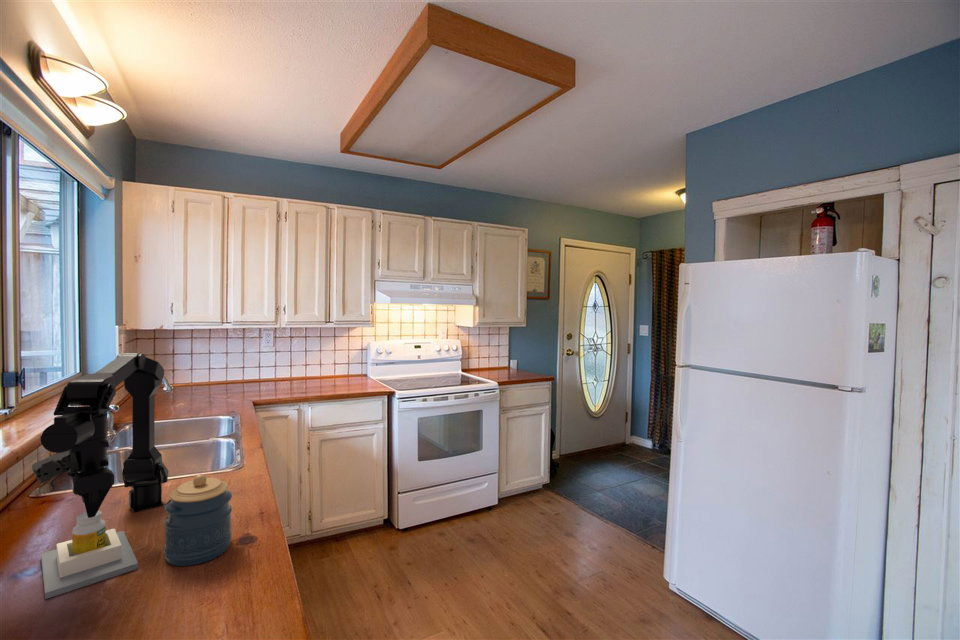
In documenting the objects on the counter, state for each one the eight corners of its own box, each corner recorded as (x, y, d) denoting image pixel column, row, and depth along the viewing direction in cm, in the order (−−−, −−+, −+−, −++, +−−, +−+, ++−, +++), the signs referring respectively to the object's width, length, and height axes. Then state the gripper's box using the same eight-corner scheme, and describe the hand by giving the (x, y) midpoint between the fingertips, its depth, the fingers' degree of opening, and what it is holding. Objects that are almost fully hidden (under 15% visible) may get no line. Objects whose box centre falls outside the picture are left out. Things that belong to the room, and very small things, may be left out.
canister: (222, 530, 110) (223, 460, 109) (238, 552, 100) (239, 476, 100) (159, 549, 101) (159, 473, 100) (170, 575, 91) (171, 492, 91)
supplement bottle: (77, 553, 95) (78, 510, 95) (108, 548, 98) (109, 506, 97) (67, 567, 91) (68, 522, 90) (100, 562, 93) (101, 517, 93)
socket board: (123, 535, 105) (123, 518, 105) (137, 568, 93) (138, 549, 93) (41, 558, 95) (41, 539, 95) (45, 599, 83) (45, 577, 83)
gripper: (33, 434, 94) (33, 506, 94) (37, 457, 81) (36, 540, 81) (102, 425, 102) (101, 491, 102) (115, 444, 89) (114, 520, 89)
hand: (88, 509), depth 94 cm, fingers open, 9 cm apart
